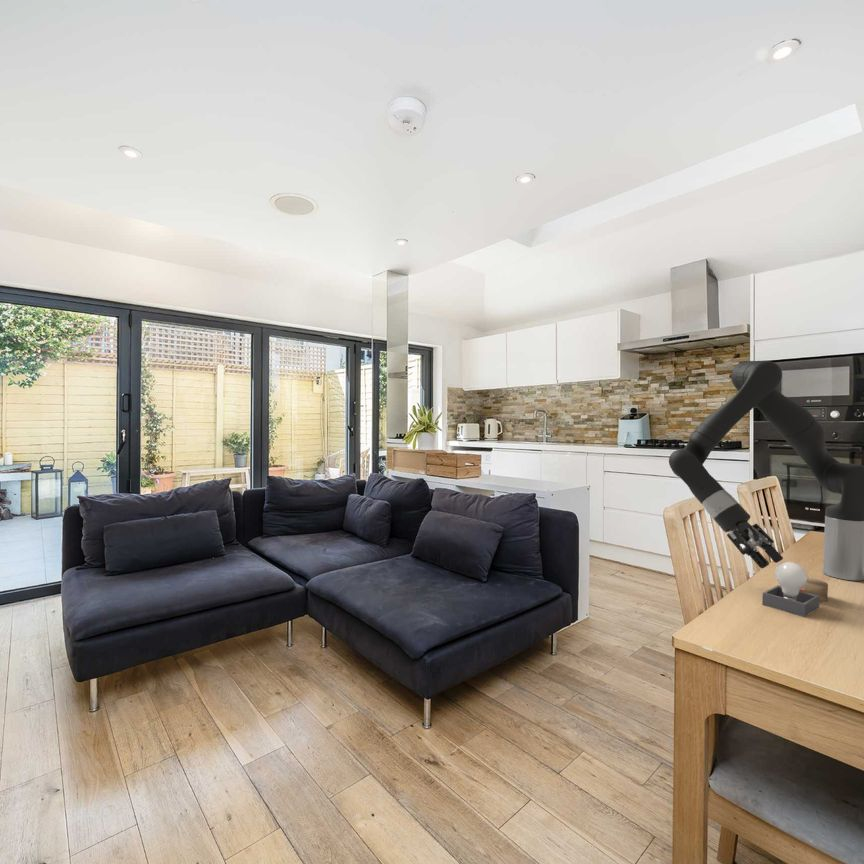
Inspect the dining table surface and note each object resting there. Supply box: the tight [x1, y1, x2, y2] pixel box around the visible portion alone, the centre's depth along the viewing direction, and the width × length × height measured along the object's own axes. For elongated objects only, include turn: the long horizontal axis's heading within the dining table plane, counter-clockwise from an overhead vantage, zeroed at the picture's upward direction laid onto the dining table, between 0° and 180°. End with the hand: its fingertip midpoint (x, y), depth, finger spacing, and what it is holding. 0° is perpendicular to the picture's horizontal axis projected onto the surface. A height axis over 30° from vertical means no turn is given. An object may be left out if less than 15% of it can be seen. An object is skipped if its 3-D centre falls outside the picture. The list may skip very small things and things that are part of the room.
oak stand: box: [802, 576, 829, 604], centre depth 123 cm, size 8×8×4 cm
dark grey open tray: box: [761, 584, 820, 618], centre depth 116 cm, size 10×9×4 cm
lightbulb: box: [774, 561, 808, 601], centre depth 116 cm, size 6×6×11 cm
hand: (772, 563), depth 119 cm, fingers open, 8 cm apart
